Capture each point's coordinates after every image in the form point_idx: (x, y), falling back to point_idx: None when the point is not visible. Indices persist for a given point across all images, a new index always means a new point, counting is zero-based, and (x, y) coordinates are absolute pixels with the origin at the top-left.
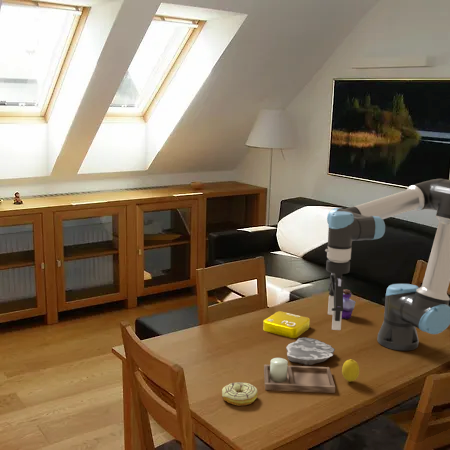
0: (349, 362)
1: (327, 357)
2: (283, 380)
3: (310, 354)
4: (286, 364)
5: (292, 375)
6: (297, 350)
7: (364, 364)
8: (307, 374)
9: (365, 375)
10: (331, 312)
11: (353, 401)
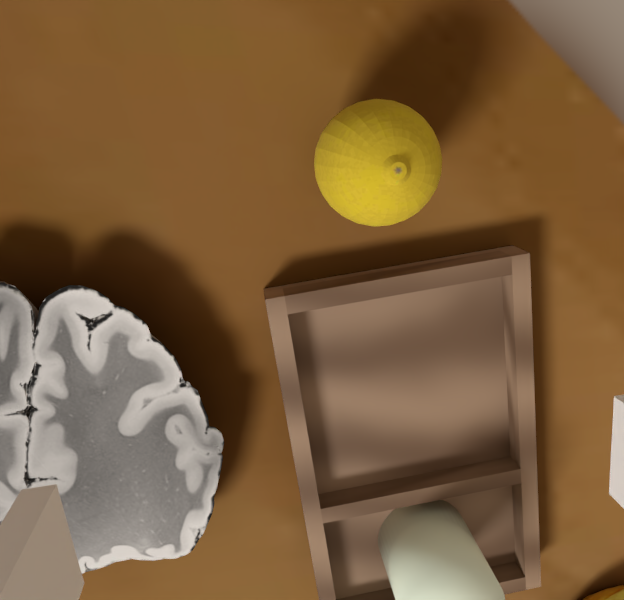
0: (419, 184)
1: (137, 322)
2: (459, 513)
3: (126, 431)
4: (479, 568)
5: (372, 478)
6: (89, 512)
7: (48, 40)
8: (342, 407)
9: (236, 44)
10: (63, 568)
11: (594, 139)
